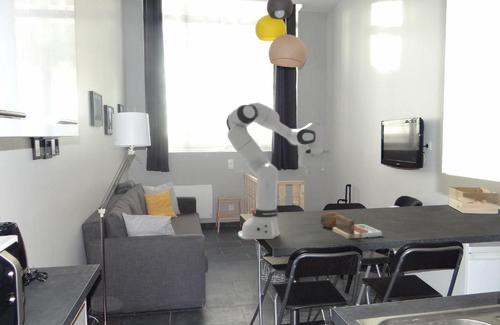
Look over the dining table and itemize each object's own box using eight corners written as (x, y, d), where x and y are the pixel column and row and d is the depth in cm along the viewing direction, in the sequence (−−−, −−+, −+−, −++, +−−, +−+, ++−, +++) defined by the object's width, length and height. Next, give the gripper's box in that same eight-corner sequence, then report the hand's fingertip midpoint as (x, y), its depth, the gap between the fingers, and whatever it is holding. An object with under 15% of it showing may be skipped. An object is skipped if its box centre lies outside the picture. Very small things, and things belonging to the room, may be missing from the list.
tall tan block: (348, 234, 185) (349, 220, 185) (336, 227, 199) (336, 215, 199) (354, 233, 186) (354, 220, 186) (340, 227, 200) (341, 215, 199)
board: (347, 238, 184) (347, 234, 184) (332, 231, 200) (332, 227, 200) (360, 237, 186) (361, 233, 186) (345, 230, 202) (345, 226, 202)
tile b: (359, 233, 187) (360, 228, 187) (354, 230, 192) (355, 226, 192) (367, 235, 188) (368, 230, 188) (362, 232, 193) (363, 228, 193)
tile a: (351, 229, 196) (352, 224, 196) (346, 227, 200) (347, 222, 200) (358, 231, 197) (360, 226, 197) (354, 229, 202) (355, 224, 202)
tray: (362, 237, 185) (362, 233, 185) (344, 229, 203) (344, 225, 203) (382, 236, 188) (382, 231, 188) (363, 228, 206) (363, 224, 206)
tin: (321, 227, 208) (321, 213, 207) (319, 226, 211) (319, 212, 210) (345, 226, 211) (345, 212, 210) (343, 225, 214) (343, 211, 213)
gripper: (328, 150, 216) (328, 172, 217) (297, 150, 211) (297, 173, 212) (333, 150, 210) (333, 173, 211) (301, 150, 205) (301, 174, 206)
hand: (315, 173), depth 211 cm, fingers open, 8 cm apart
